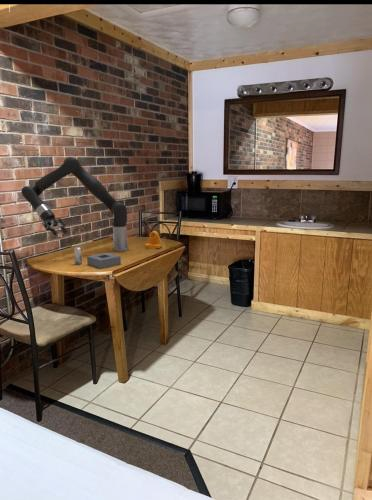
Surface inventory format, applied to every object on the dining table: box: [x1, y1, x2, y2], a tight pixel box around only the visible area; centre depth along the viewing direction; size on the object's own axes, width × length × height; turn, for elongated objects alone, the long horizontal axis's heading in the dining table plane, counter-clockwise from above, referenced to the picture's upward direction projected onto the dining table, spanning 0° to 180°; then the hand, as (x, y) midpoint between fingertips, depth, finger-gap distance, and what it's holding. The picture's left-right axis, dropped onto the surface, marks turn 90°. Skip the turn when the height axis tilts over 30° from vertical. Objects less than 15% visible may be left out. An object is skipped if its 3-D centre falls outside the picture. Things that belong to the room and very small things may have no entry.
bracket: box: [144, 230, 163, 250], centre depth 264 cm, size 11×7×12 cm, turn 74°
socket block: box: [86, 252, 122, 270], centre depth 218 cm, size 14×14×5 cm
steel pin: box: [73, 246, 83, 266], centre depth 218 cm, size 4×4×10 cm
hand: (61, 233), depth 220 cm, fingers open, 8 cm apart
